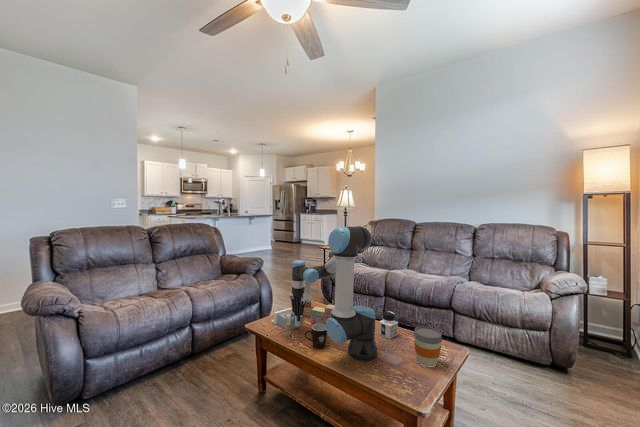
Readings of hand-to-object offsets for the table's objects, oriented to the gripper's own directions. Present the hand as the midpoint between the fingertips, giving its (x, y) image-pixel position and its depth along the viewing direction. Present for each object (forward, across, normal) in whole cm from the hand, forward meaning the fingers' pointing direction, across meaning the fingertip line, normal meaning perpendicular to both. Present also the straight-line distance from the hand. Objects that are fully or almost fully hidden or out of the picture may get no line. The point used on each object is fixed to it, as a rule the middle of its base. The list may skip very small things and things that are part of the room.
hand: (297, 325), depth 168 cm
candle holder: (+2, +15, -19) cm, 25 cm away
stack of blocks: (+3, -8, -18) cm, 20 cm away
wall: (+2, +16, 0) cm, 16 cm away
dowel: (+2, -4, +9) cm, 10 cm away
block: (+2, +7, 0) cm, 8 cm away
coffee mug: (+2, -22, +3) cm, 22 cm away
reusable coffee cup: (+2, -67, -29) cm, 73 cm away
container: (+2, -38, -38) cm, 54 cm away
